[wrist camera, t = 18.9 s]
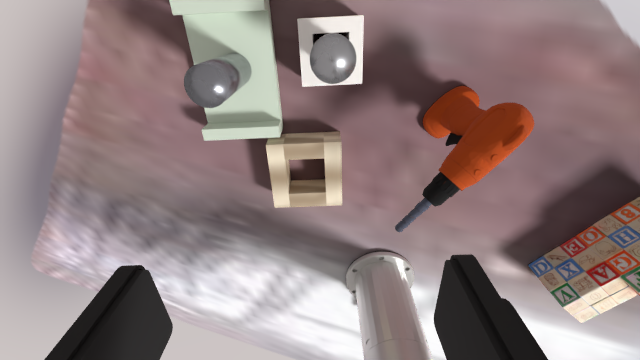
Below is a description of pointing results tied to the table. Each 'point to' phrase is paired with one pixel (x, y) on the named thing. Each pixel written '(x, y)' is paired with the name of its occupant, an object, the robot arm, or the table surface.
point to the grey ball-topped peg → (333, 58)
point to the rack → (248, 40)
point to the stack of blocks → (595, 265)
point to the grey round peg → (217, 79)
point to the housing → (330, 25)
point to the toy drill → (469, 142)
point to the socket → (305, 148)
